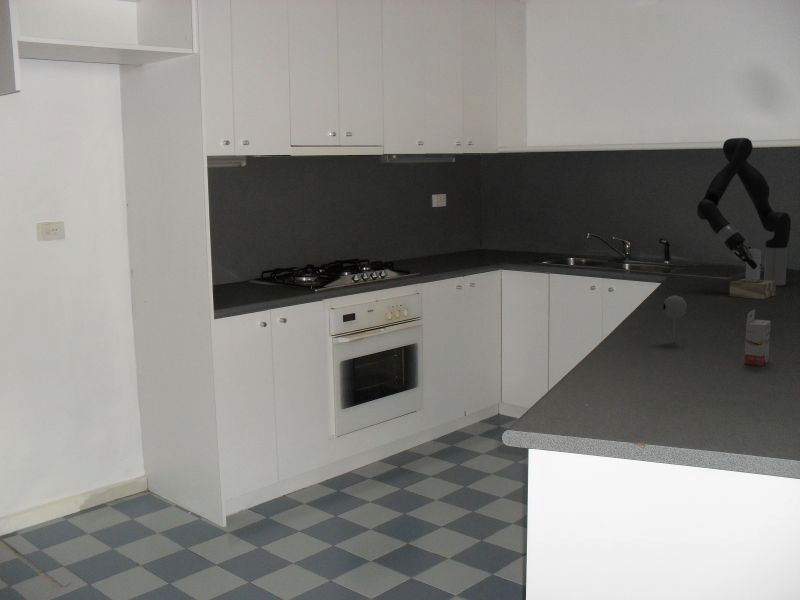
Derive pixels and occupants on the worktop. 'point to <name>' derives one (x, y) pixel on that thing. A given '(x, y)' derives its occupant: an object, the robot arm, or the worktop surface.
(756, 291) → the well block
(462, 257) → the worktop surface
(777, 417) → the worktop surface
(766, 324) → the ink cartridge box
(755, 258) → the grey square pillar
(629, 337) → the worktop surface
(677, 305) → the lollipop
